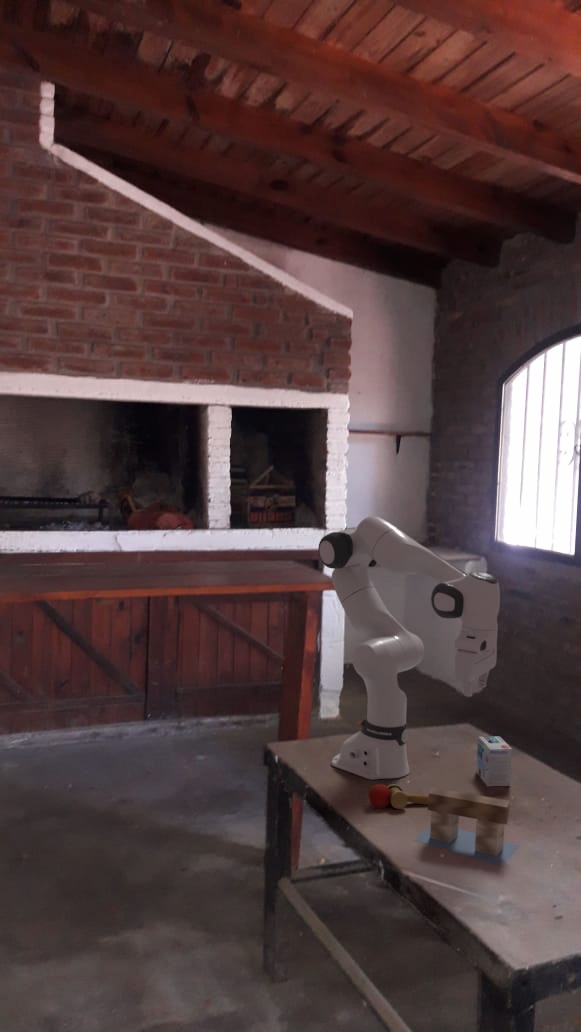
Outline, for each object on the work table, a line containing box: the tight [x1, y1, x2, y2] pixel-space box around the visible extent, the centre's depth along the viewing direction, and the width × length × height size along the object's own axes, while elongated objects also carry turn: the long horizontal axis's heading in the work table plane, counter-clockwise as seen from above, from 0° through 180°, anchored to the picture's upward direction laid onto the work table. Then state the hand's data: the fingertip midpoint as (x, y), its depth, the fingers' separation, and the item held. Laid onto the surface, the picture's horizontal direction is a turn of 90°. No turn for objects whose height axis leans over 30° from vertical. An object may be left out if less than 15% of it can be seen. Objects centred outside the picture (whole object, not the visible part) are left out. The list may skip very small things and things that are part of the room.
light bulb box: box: [475, 735, 513, 788], centre depth 235 cm, size 11×7×11 cm, turn 5°
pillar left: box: [430, 810, 460, 843], centre depth 197 cm, size 5×5×7 cm
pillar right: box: [475, 819, 506, 857], centre depth 191 cm, size 5×5×7 cm
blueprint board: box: [413, 824, 519, 867], centre depth 195 cm, size 21×12×1 cm, turn 58°
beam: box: [427, 787, 510, 825], centre depth 194 cm, size 18×4×4 cm, turn 69°
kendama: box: [368, 783, 429, 810], centre depth 215 cm, size 8×6×18 cm
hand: (475, 691), depth 210 cm, fingers open, 8 cm apart
